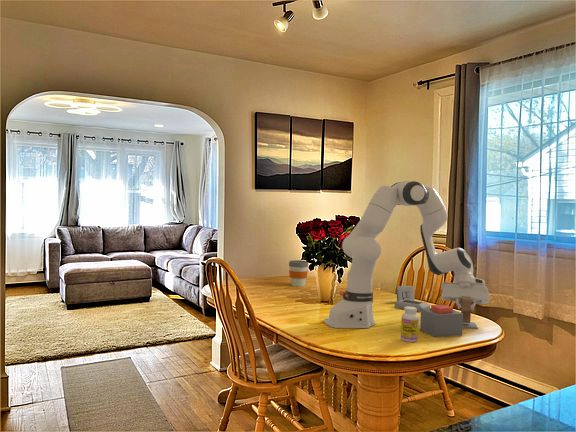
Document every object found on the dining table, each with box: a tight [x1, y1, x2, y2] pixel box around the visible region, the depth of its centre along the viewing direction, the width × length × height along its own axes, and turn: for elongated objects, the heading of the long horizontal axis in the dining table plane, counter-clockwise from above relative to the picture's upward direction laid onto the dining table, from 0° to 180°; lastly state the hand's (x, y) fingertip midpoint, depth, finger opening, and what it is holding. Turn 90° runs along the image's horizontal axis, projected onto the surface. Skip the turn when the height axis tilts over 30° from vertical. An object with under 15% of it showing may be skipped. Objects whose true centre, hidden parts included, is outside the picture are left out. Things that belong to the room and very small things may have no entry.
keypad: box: [394, 299, 431, 313], centre depth 242 cm, size 10×4×15 cm
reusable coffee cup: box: [288, 259, 309, 287], centre depth 300 cm, size 13×13×15 cm
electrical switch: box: [395, 285, 416, 302], centre depth 255 cm, size 9×5×9 cm, turn 104°
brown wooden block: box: [460, 296, 472, 323], centre depth 210 cm, size 4×4×11 cm
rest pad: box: [463, 321, 479, 330], centre depth 210 cm, size 9×9×1 cm
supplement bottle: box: [400, 306, 420, 343], centre depth 185 cm, size 7×7×13 cm
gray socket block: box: [419, 307, 464, 338], centre depth 197 cm, size 13×11×9 cm
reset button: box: [430, 304, 454, 314], centre depth 197 cm, size 6×6×5 cm
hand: (466, 309), depth 209 cm, fingers closed on brown wooden block, 4 cm apart
